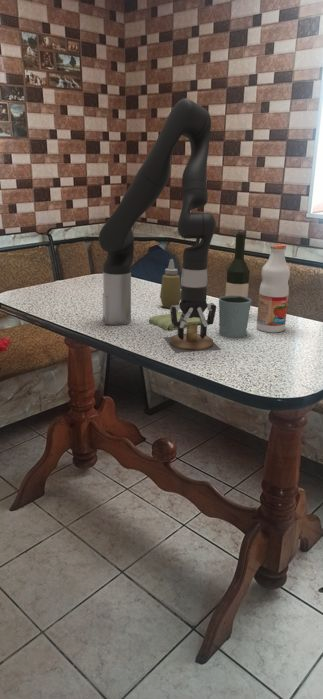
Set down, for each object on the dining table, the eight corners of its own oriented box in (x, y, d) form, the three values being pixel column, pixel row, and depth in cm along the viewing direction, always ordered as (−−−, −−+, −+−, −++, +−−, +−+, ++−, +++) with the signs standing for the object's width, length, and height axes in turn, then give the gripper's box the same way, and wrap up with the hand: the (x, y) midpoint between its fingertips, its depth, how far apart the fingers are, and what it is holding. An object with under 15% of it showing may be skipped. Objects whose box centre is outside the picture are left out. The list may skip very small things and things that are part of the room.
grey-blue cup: (214, 338, 166) (216, 301, 162) (220, 328, 175) (222, 293, 171) (246, 341, 163) (249, 304, 159) (250, 332, 172) (253, 296, 168)
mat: (175, 354, 151) (175, 352, 151) (163, 339, 164) (163, 337, 164) (221, 351, 154) (221, 349, 154) (206, 336, 167) (206, 334, 167)
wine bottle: (220, 316, 189) (225, 231, 178) (228, 311, 196) (233, 229, 185) (242, 320, 185) (248, 233, 175) (249, 314, 192) (256, 231, 182)
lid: (176, 351, 151) (177, 332, 149) (165, 337, 163) (165, 319, 161) (219, 348, 154) (220, 329, 152) (205, 335, 166) (206, 317, 164)
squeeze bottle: (181, 304, 204) (183, 258, 198) (180, 309, 196) (181, 261, 190) (160, 303, 204) (161, 257, 198) (158, 308, 197) (159, 261, 191)
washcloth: (210, 326, 179) (210, 316, 178) (168, 334, 170) (168, 324, 169) (186, 316, 189) (187, 308, 188) (145, 324, 180) (146, 315, 179)
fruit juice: (261, 323, 182) (268, 241, 173) (288, 327, 178) (297, 244, 168) (252, 330, 174) (259, 245, 165) (279, 334, 170) (288, 248, 161)
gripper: (173, 287, 147) (172, 343, 153) (222, 285, 151) (218, 340, 157) (166, 281, 154) (165, 335, 160) (213, 280, 158) (210, 333, 163)
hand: (191, 338), depth 158 cm, fingers open, 6 cm apart
